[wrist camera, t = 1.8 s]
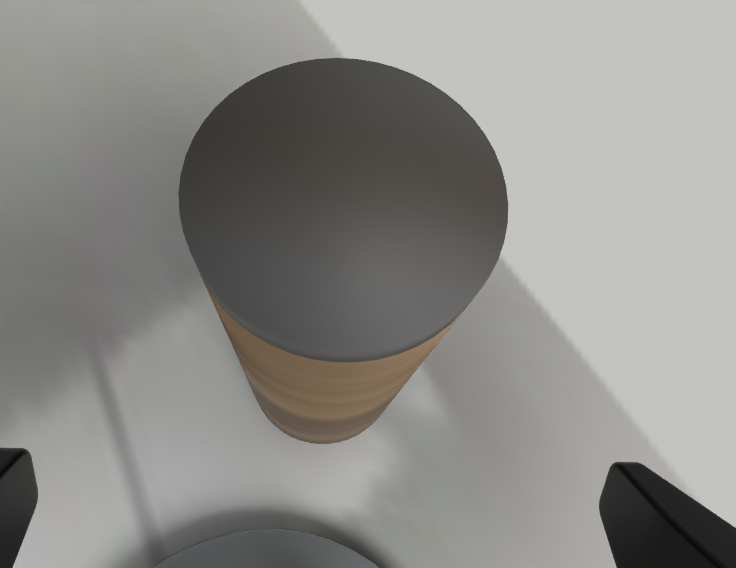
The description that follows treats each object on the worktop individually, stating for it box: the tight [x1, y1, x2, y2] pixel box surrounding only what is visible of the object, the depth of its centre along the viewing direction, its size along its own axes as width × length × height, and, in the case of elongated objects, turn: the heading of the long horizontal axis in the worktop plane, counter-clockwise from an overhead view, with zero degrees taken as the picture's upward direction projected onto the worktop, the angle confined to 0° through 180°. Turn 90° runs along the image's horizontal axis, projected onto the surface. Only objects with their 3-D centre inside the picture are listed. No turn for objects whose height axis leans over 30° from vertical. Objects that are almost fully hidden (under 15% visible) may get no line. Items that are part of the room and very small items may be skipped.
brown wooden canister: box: [179, 58, 508, 444], centre depth 15 cm, size 6×5×13 cm
